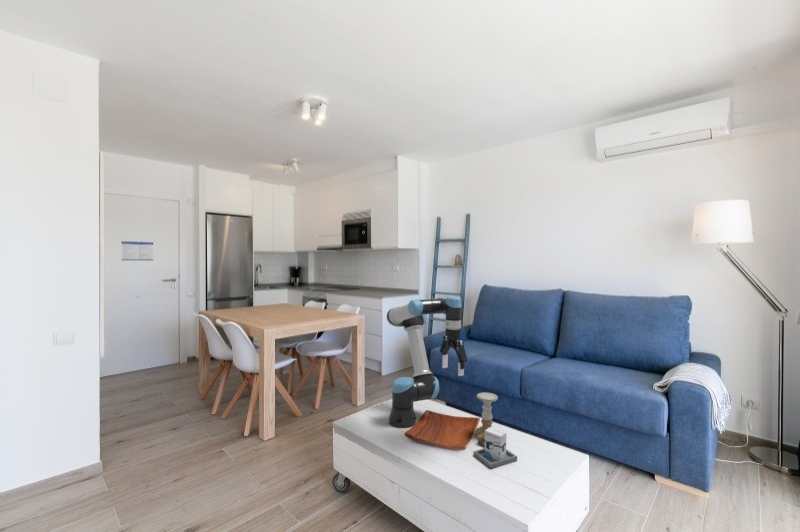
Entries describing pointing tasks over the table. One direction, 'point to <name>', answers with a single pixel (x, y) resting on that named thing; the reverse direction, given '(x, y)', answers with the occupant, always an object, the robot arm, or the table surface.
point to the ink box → (495, 444)
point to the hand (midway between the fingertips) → (452, 371)
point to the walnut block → (481, 440)
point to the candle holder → (486, 411)
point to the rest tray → (491, 462)
